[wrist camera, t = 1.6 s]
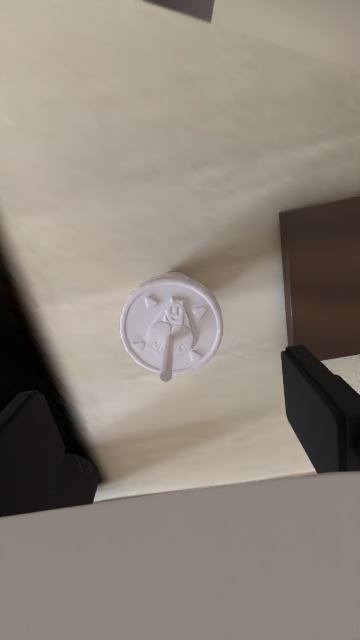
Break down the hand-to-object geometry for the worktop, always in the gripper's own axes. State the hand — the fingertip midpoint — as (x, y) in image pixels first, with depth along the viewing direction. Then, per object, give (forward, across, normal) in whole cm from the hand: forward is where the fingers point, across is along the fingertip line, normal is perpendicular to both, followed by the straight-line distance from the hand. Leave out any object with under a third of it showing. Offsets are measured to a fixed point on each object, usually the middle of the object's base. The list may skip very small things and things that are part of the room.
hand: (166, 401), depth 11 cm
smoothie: (+16, 0, -1) cm, 16 cm away
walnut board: (+16, -16, +1) cm, 23 cm away
